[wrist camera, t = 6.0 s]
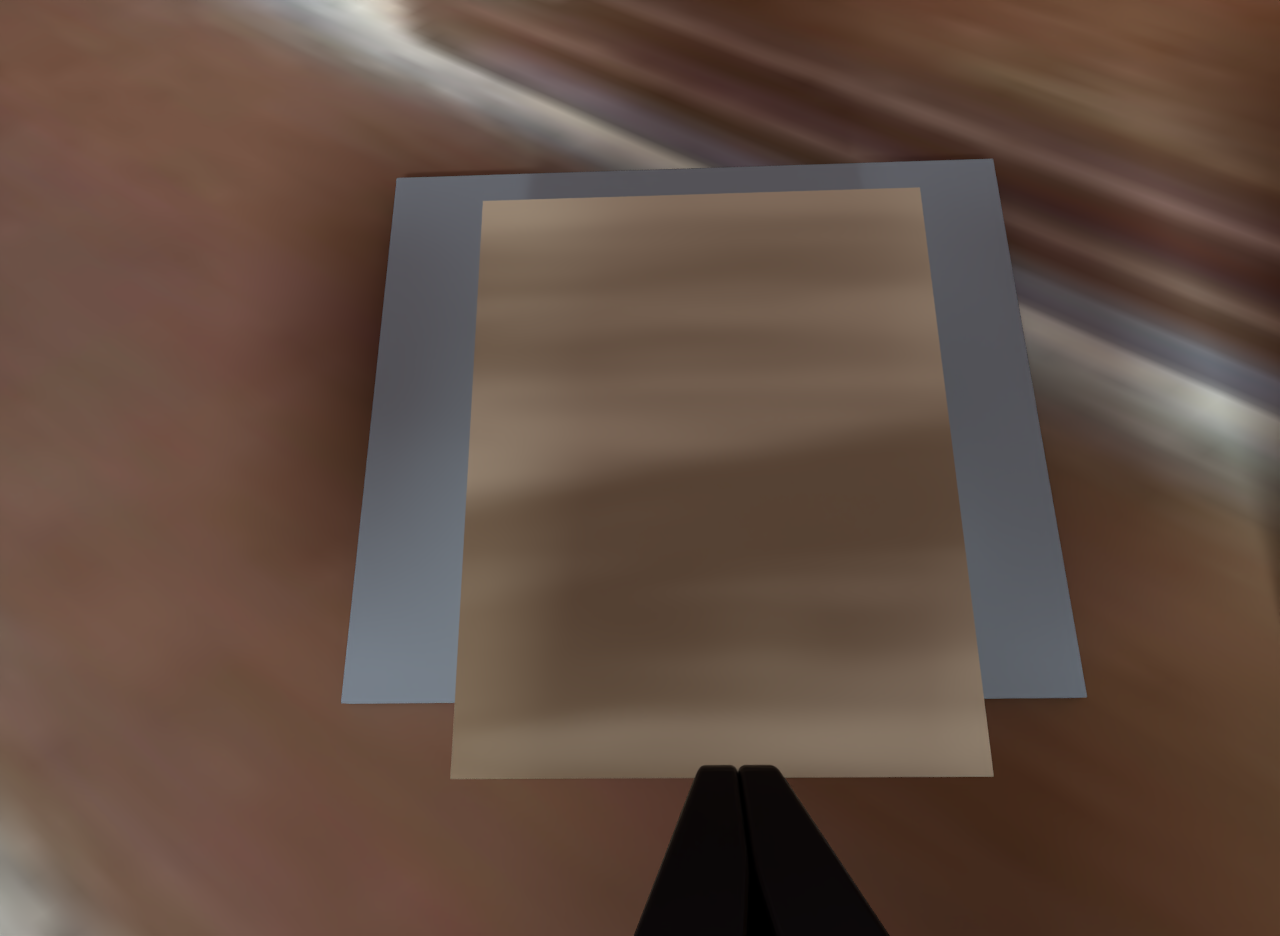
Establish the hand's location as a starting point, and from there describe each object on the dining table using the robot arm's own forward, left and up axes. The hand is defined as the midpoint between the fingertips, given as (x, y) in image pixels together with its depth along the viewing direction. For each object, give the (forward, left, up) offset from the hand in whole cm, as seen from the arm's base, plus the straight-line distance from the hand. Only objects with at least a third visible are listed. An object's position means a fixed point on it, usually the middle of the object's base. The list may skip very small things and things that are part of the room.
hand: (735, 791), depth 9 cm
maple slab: (0, 0, -5) cm, 5 cm away
